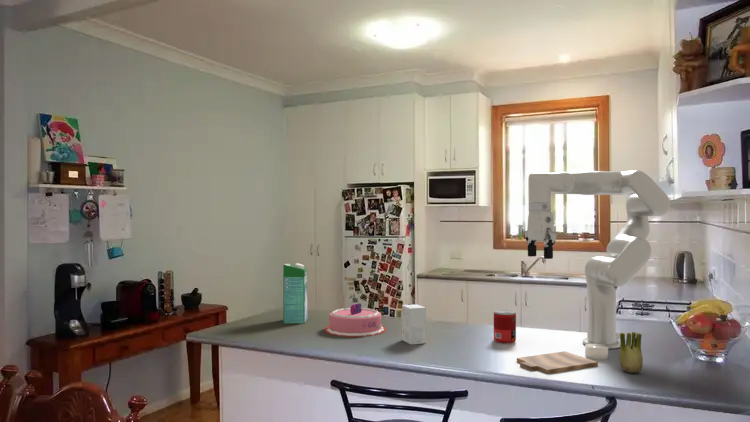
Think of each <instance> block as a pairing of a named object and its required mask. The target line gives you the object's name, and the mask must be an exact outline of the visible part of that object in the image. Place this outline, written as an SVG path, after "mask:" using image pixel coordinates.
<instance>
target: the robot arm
mask: <svg viewBox="0 0 750 422" xmlns="http://www.w3.org/2000/svg"><path fill="white" fill-rule="evenodd" d="M527 187H528V217H527V230H526V231H525V232H524V236H525V240H526V245H527V257H529V258H531V257H537V244H536V243H537V242H543V245H544V246H543V259H545V260H552V259H553V258H554V246H555V244H556V239H557V233H555V222H554V216H553V213H552V195H580V196H581V195H582V196H583V195H584V196H585V195H586V196H621V195H622V196H624V195H625V196H626V195H630V196H628V198H627V200H626V204H625V209H626V215H627V217H626V218H627V219H626V221H625V224H624V226H623V227H622V228H621V229H620V230H619V231H618V232H617V233H616V235H614V237H613V238H612V239H611V240H610V241H609V243H608V244H607V246H606V255H607V256H600V255H597V256H594V257H593V256H592V257H590V259H588V261H587V262H586V263H585V265H584V276H585V281H586V289H587V290H586V291H587V293H586V294H587V303H586V304H587V310H586V311H587V324H586V326H587V329H586V331H587V332H586V334H587V337H585V338H584V339H582V344H583V345H584V346H585V345H586V344H601V345H605V346H608V350H610V349H611V350H612V349H618V348H619V349H620V341H619V340H620V333H624V332H618V331H617V293H616V289H615V287H622V286H623V287H624V286H627V284H628V283H630V282H631V281H632V280H633V279H634V278H635V277H636V276H637V275H638V273H639V272H640V271H641V270H642V268H644V267H645V266H646V264H647V263H648V262H649V260H650V258H651V254H652V246H651V244H650V242H649V241H648V240H647V238H648V236H649V234H650V230H651V229H650V220H649V217H661V216H664V215H666V214H667V213H668V212H669V211H670V209H671V200H670V198H669V196H668V194H667V193H666V192H665V191H664V190H663V189H662V188H661V187H660V186H659V185H658V184H657V183H656V182H655V180H653V179H652V177H650V176H649V175H648V174H647V173H645V172H644V171H642V170H640V169H639V170H638V169H637V170H636V169H635V170H624V171H622V170H621V171H620V170H619V171H618V170H617V171H616V170H615V171H611V170H609V171H607V170H604V171H603V170H599V171H598V170H591V171H590V170H589V171H582V172H578V173H576V172H575V173H570V172H569V171H568V172H567V171H559V172H558V171H557V172H544V171H543V172H531V173H529V175H528V186H527Z"/></svg>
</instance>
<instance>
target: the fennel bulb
mask: <svg viewBox="0 0 750 422" xmlns="http://www.w3.org/2000/svg"><path fill="white" fill-rule="evenodd" d="M619 333H620V338H619V340H620V341H619V342H620V347H619V364H620V367H621V369H622V371H623V372H627V373H630V374H638V373H639V374H640V372H642V370H643V363H644V359H643V358H644V357H643V353H642V333H640V332H636V331H631V332H626V334H625V332H623V333H622V332H619Z"/></svg>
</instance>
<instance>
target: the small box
mask: <svg viewBox="0 0 750 422" xmlns="http://www.w3.org/2000/svg"><path fill="white" fill-rule="evenodd" d="M401 340H402V341H403V342H405V343H407V344H408V345H420V344H421V345H422V344H426V343H427V307H425V306H423V305H419V304H417V303H416V304H402V305H401Z"/></svg>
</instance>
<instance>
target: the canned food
mask: <svg viewBox="0 0 750 422" xmlns="http://www.w3.org/2000/svg"><path fill="white" fill-rule="evenodd" d="M493 340H494V342H496V343H499V344H514V343H515V342H516V340H517V313H516V311H515V310H512V309H495V310H493Z"/></svg>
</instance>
